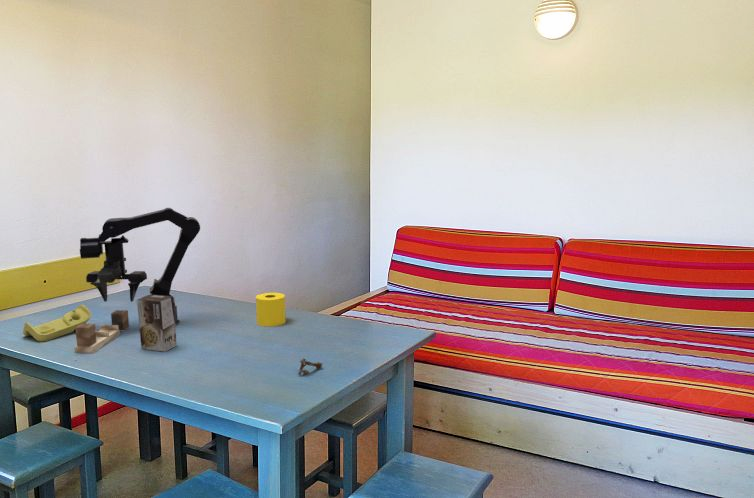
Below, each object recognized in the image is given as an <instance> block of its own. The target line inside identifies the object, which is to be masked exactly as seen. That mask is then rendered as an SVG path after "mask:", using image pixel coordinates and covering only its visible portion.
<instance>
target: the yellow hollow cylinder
mask: <svg viewBox="0 0 754 498" xmlns="http://www.w3.org/2000/svg"><path fill="white" fill-rule="evenodd" d="M255 305H256V306H255V311H256V324H257V325H258V326H262V327H277V326H281V325H284V324H285V323H286V295H285V294H284V293H280V292H265V293H260V294H258V295H256V296H255Z"/></svg>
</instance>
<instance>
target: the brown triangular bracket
mask: <svg viewBox="0 0 754 498" xmlns="http://www.w3.org/2000/svg"><path fill="white" fill-rule="evenodd" d="M299 363H300V367H299V369H298V374H297V375H298V376H302V374H305V375H307V374H309V372H310V371H309V370H308V369H304V368H305V367H306V366H311V367H315V369H317V370H322V368H323V364H324V363H322V362H320V361H318V362H311V361H309V360H306V358H302V359H300V360H299Z"/></svg>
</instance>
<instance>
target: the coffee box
mask: <svg viewBox="0 0 754 498" xmlns="http://www.w3.org/2000/svg"><path fill="white" fill-rule="evenodd" d="M173 297H174V296H173V295H171V296H163V295H151V294H147V295H144V296H143V297H141V298H137V299H136V304H137V316H138V324H139V325H138V326H139V327H138V328H139V338H140V349H141V350H149V351H156V352H157V351H158V352H167V351H168V350H171V349H173V348H175V347H177V346H178V344H177V331H176V324H175V316H174V302H173Z"/></svg>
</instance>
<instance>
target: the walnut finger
mask: <svg viewBox="0 0 754 498" xmlns="http://www.w3.org/2000/svg"><path fill="white" fill-rule="evenodd" d="M110 318H111V319H110V320H111V325H119V330H124V331H126V330H127V329H128V327H129V328H130V323H129V310H128V309H127V310H125V309H121V310H119V309H117V310H114V311H112V312H110ZM125 329H126V330H125Z"/></svg>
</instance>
